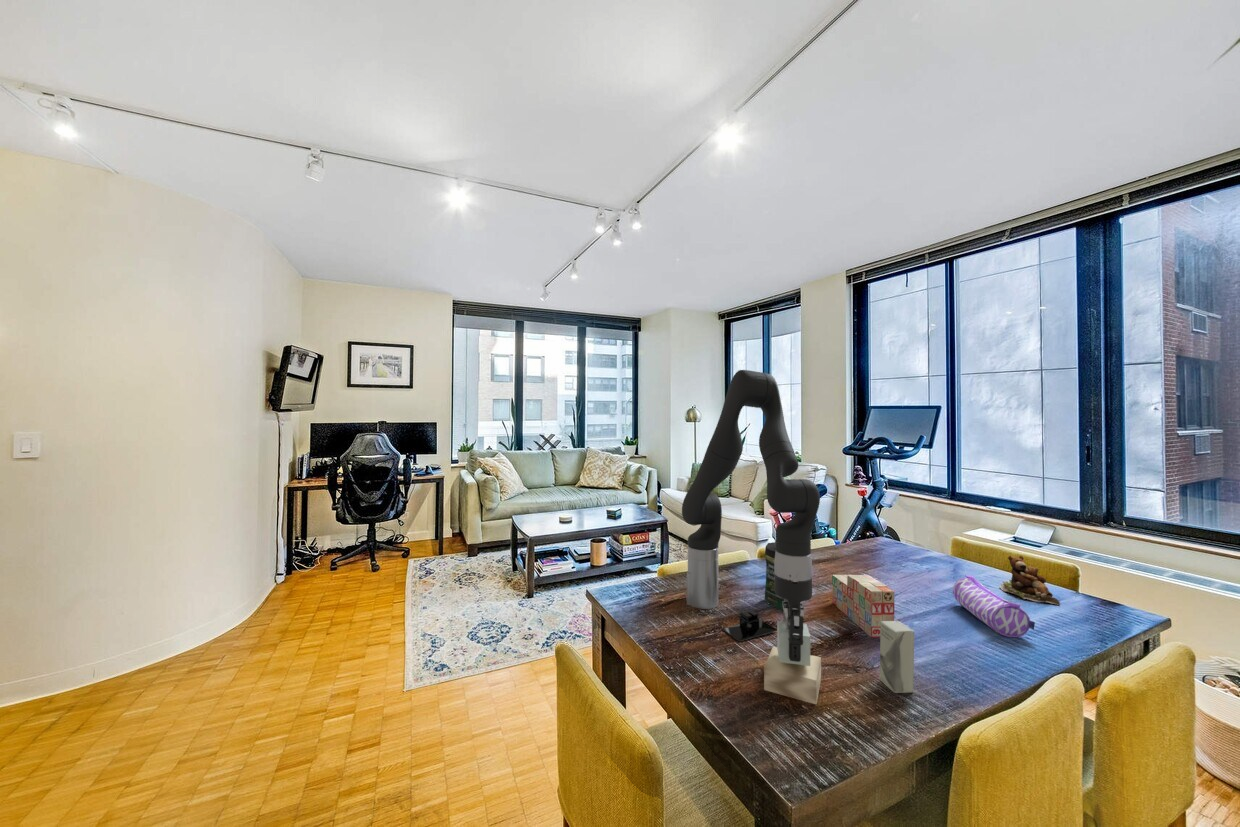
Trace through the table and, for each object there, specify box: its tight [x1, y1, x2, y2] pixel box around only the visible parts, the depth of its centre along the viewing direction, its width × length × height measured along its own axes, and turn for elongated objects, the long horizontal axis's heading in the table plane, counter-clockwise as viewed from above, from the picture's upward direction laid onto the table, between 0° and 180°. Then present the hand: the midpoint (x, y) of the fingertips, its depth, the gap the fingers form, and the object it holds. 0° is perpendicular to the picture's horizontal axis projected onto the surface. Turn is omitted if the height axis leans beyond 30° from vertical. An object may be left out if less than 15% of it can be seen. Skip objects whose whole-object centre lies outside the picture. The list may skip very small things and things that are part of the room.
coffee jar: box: [764, 541, 784, 611], centre depth 137 cm, size 10×8×19 cm
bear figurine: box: [999, 555, 1061, 606], centre depth 147 cm, size 14×15×12 cm
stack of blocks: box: [831, 574, 896, 639], centre depth 128 cm, size 21×6×12 cm, turn 1°
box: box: [879, 620, 916, 694], centre depth 95 cm, size 5×4×13 cm
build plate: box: [722, 609, 777, 642], centre depth 120 cm, size 12×7×5 cm, turn 114°
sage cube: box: [776, 620, 811, 666], centre depth 96 cm, size 6×6×6 cm
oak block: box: [763, 646, 822, 705], centre depth 96 cm, size 10×10×5 cm
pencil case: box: [952, 574, 1036, 638], centre depth 128 cm, size 22×9×10 cm, turn 171°
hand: (792, 652), depth 96 cm, fingers open, 6 cm apart
